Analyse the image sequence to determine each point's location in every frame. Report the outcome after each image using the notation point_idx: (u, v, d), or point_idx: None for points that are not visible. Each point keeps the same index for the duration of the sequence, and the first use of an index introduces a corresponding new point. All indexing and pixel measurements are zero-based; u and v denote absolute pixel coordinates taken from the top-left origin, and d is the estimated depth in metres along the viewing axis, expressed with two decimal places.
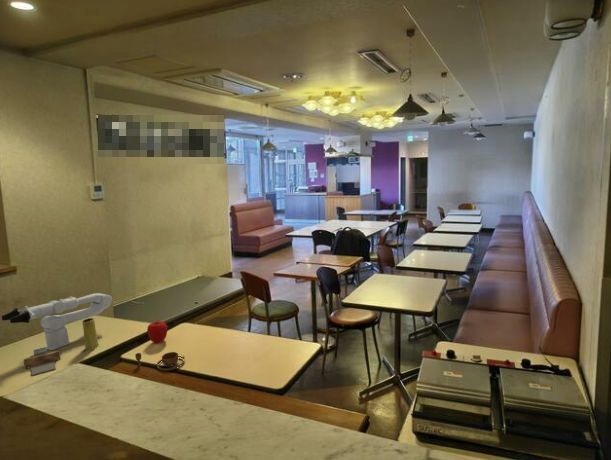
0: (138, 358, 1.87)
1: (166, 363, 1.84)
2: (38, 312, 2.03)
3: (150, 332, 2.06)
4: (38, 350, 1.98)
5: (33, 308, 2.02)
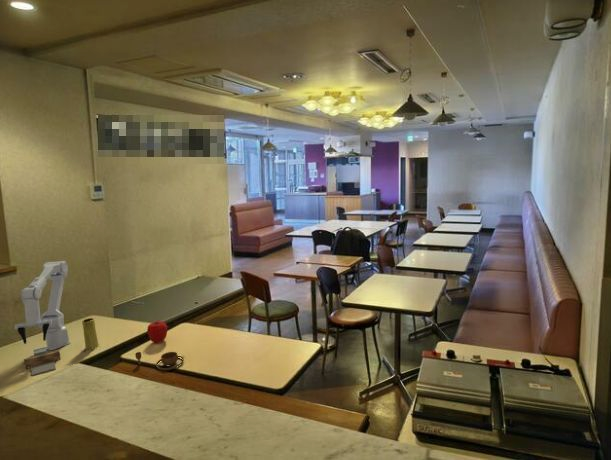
0: (138, 357, 1.88)
1: (165, 363, 1.84)
2: (39, 313, 1.97)
3: (150, 332, 2.06)
4: (38, 350, 1.98)
5: (35, 318, 1.94)
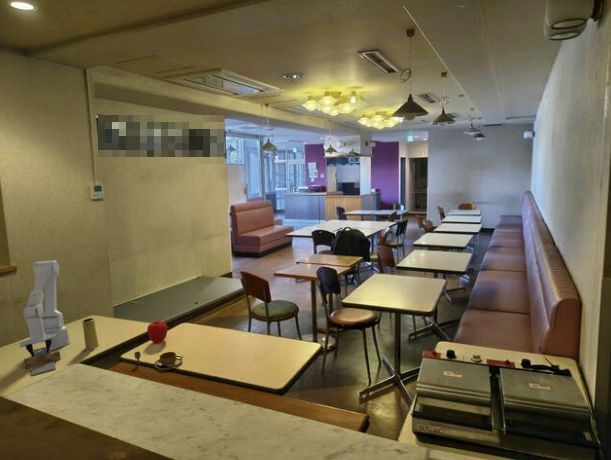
0: (137, 357, 1.88)
1: (163, 363, 1.84)
2: (43, 330, 1.98)
3: (150, 332, 2.06)
4: (38, 350, 1.98)
5: (40, 335, 1.95)
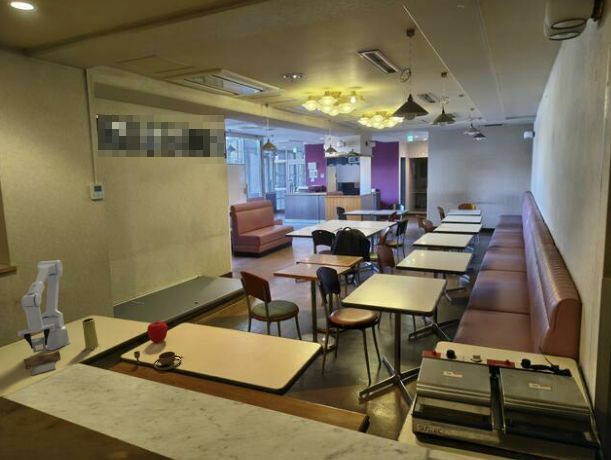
0: (136, 356, 1.88)
1: (162, 362, 1.84)
2: (41, 319, 1.97)
3: (150, 332, 2.06)
4: (36, 339, 1.97)
5: (38, 324, 1.94)
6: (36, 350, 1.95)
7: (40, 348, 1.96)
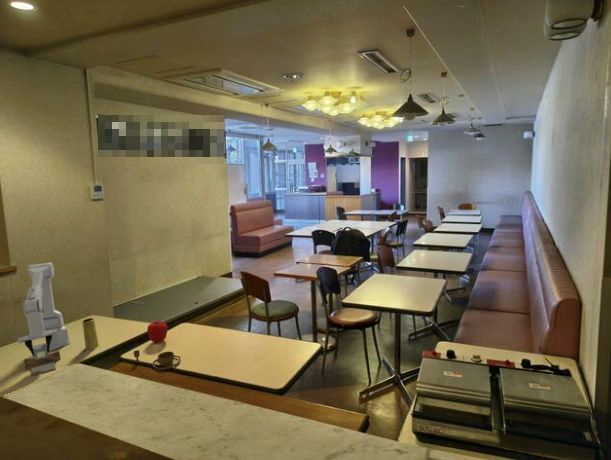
0: (136, 355, 1.89)
1: (161, 362, 1.85)
2: (43, 325, 1.88)
3: (150, 332, 2.06)
4: (38, 346, 1.88)
5: (40, 330, 1.85)
6: (38, 357, 1.86)
7: (42, 355, 1.87)
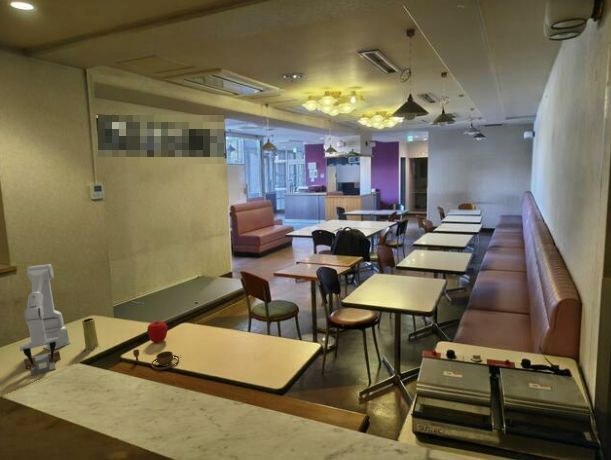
0: (135, 354, 1.90)
1: (159, 362, 1.85)
2: (45, 333, 1.88)
3: (150, 332, 2.06)
4: (40, 357, 1.89)
5: (42, 338, 1.86)
6: (39, 368, 1.87)
7: (44, 366, 1.88)
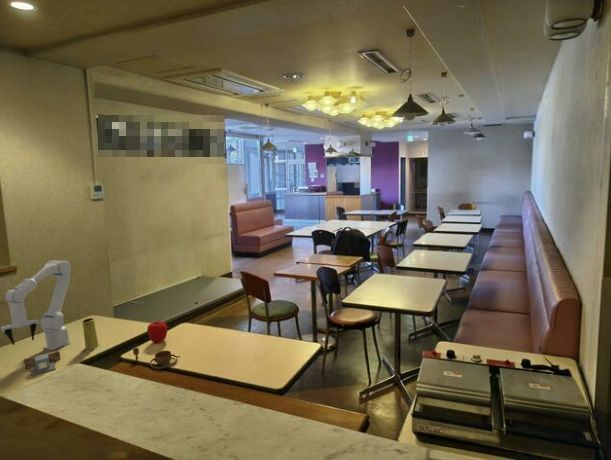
0: (135, 353, 1.92)
1: (157, 361, 1.86)
2: (25, 314, 1.97)
3: (150, 332, 2.06)
4: (40, 357, 1.89)
5: (22, 319, 1.94)
6: (39, 368, 1.87)
7: (44, 366, 1.88)
